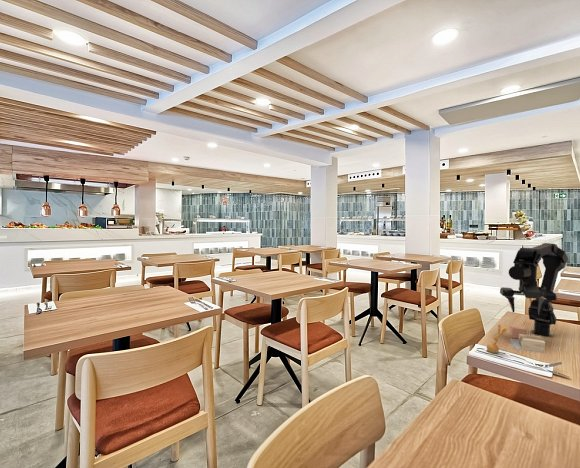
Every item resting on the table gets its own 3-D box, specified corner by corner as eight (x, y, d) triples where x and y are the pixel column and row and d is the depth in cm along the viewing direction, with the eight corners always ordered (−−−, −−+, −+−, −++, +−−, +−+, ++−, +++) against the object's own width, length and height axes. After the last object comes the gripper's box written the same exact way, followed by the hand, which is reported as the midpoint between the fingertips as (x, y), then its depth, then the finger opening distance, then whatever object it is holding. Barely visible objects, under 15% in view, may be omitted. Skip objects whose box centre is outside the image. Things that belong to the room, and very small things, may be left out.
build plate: (508, 339, 138) (509, 338, 138) (537, 343, 134) (537, 342, 134) (515, 350, 127) (515, 348, 127) (546, 354, 123) (546, 353, 123)
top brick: (509, 335, 144) (510, 324, 143) (523, 337, 142) (523, 326, 141) (512, 339, 139) (512, 328, 139) (526, 341, 137) (526, 329, 137)
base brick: (518, 343, 133) (518, 333, 133) (539, 346, 130) (539, 336, 130) (522, 349, 127) (523, 339, 127) (544, 352, 124) (545, 342, 124)
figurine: (488, 348, 129) (490, 319, 128) (506, 352, 125) (508, 322, 124) (484, 355, 122) (486, 324, 122) (503, 359, 118) (504, 328, 118)
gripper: (507, 279, 131) (505, 316, 132) (563, 283, 125) (561, 322, 126) (500, 274, 142) (498, 308, 143) (552, 277, 135) (550, 313, 136)
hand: (526, 313), depth 136 cm, fingers open, 9 cm apart
